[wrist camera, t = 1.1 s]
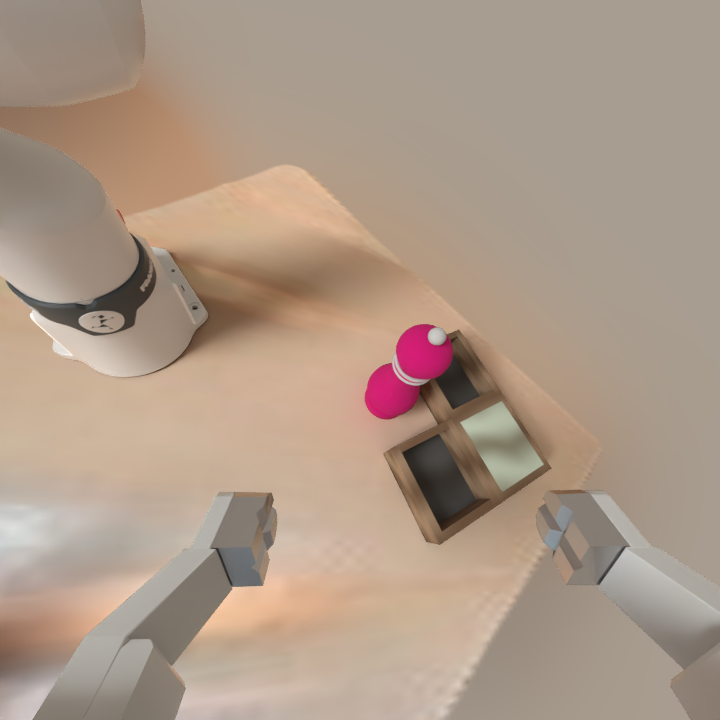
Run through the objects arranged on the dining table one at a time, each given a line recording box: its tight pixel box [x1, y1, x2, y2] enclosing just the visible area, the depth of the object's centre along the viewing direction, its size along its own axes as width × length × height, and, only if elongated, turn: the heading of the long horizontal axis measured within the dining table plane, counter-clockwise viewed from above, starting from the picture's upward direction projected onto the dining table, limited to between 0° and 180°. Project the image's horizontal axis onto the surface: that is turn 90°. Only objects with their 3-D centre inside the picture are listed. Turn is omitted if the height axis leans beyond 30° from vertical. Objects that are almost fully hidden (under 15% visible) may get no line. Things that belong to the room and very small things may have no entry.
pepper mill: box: [365, 324, 453, 419], centre depth 38 cm, size 7×7×20 cm
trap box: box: [384, 330, 551, 545], centre depth 44 cm, size 24×20×4 cm
